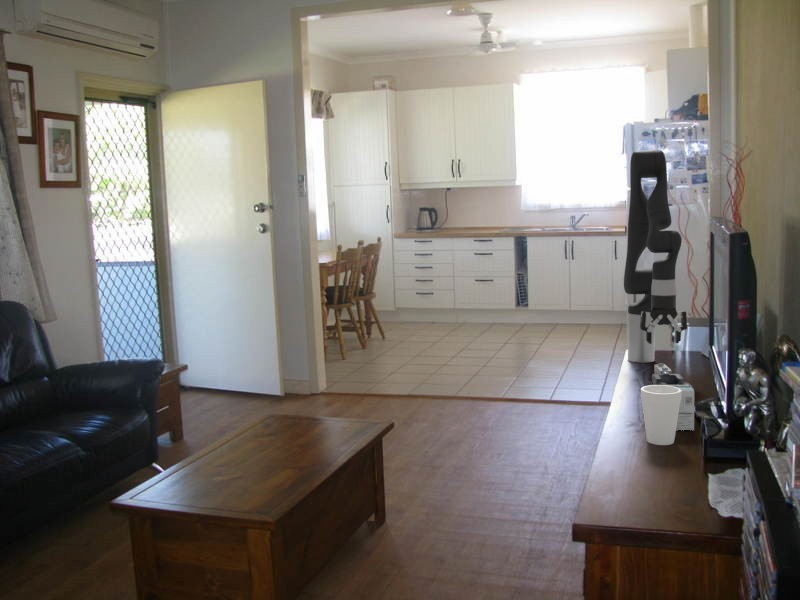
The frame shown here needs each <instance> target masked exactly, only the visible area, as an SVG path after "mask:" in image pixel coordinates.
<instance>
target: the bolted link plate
mask: <svg viewBox="0 0 800 600" xmlns="http://www.w3.org/2000/svg"><path fill="white" fill-rule="evenodd" d="M653 369H654V371H653V372H654V373H653V374H662V373H663V372H669V374H673V372H672V371H673V370H671V368H670V367H668V366H667V365H666V364H665V363H661V362H660V363H659V362H658V363H657V364H654V368H653Z"/></svg>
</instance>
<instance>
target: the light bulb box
mask: <svg viewBox="0 0 800 600" xmlns="http://www.w3.org/2000/svg"><path fill="white" fill-rule="evenodd" d="M649 385H650V384H648V385H647V386H649ZM667 386H674V387H677V388H680V389H681V390H682V398H681V401H680V407H679V414H678V420H677V427H676V432H677V431H678V430H681V431H682V430H683V431H684V430H690V431H691V430H692V431H695V389H693V388H694V387H693V388H691V387H690V386H689V385H688V384H687V385H675V384H667ZM681 431H680V432H681Z"/></svg>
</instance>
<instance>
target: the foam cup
mask: <svg viewBox="0 0 800 600" xmlns="http://www.w3.org/2000/svg"><path fill="white" fill-rule="evenodd" d="M648 385H649V386H648ZM648 385H644V386H642V387H641V388H640V399H641V404H642V406H641V407H642V412H643V418H644V419H643V421H644V429H645V436H646V442H647V443H649V444H652V445H656V446H670V445H673V444H674V443H675V438H676V433H677V431H676V427H677V420H678V414H679V407H680V401H681V398H682V390H681V389H680V388H677V387H674V386H667V385H668V384H667V385H653V384H648Z"/></svg>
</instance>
